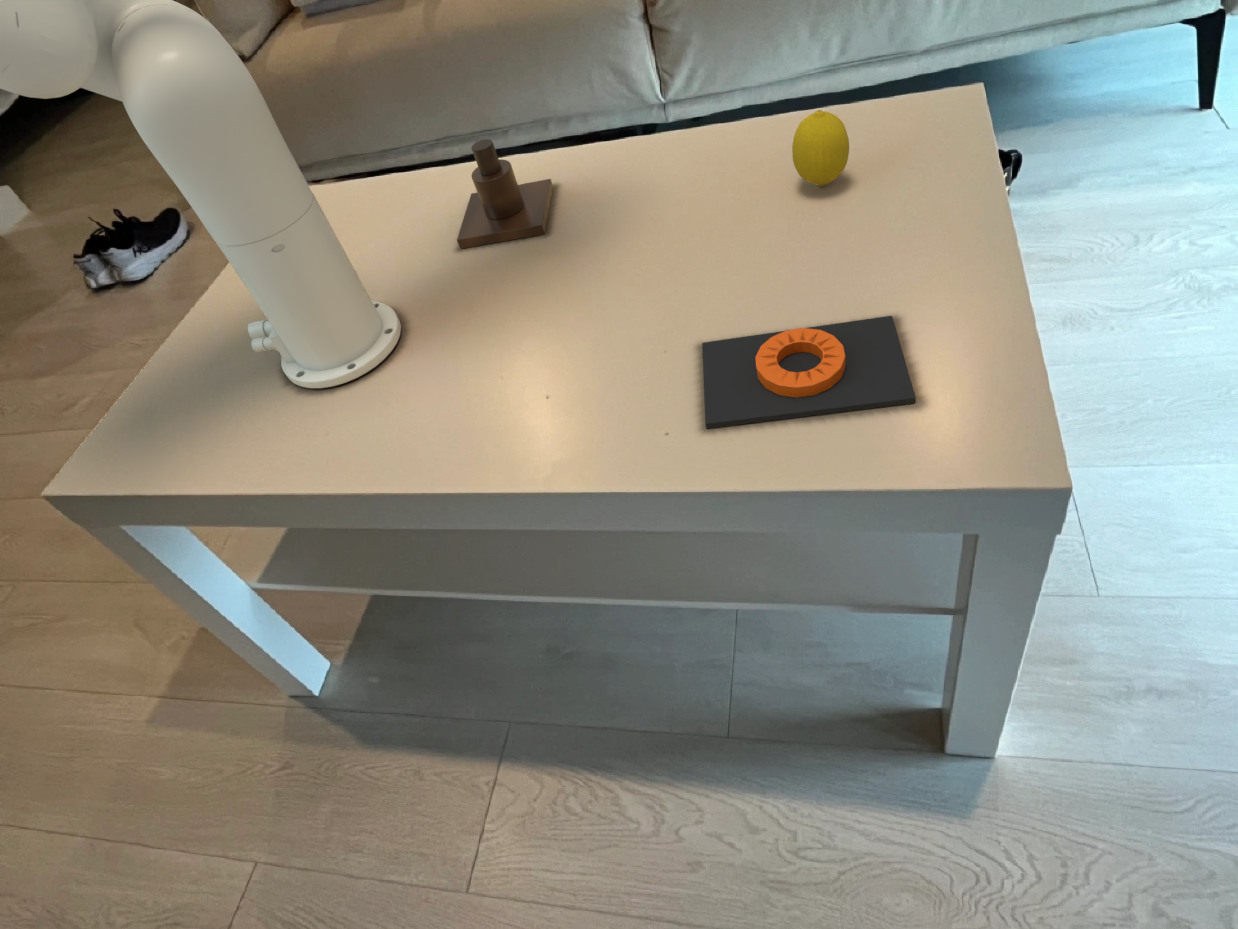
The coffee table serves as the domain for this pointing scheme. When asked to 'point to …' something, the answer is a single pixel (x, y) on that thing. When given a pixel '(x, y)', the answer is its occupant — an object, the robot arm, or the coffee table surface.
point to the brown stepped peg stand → (502, 202)
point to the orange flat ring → (807, 380)
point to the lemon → (820, 148)
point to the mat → (864, 383)
